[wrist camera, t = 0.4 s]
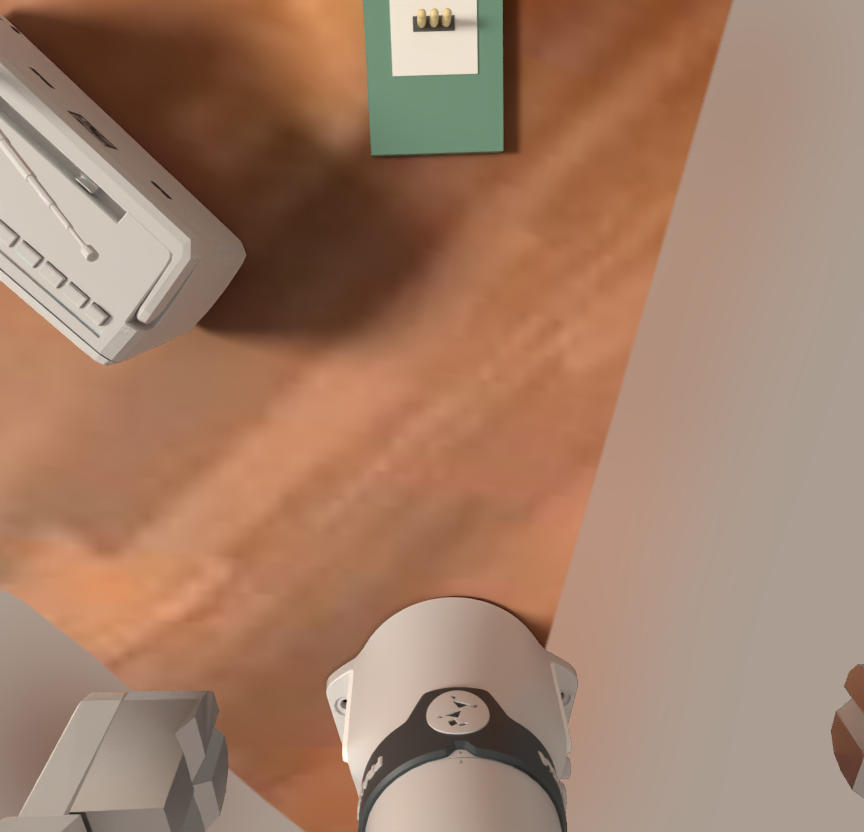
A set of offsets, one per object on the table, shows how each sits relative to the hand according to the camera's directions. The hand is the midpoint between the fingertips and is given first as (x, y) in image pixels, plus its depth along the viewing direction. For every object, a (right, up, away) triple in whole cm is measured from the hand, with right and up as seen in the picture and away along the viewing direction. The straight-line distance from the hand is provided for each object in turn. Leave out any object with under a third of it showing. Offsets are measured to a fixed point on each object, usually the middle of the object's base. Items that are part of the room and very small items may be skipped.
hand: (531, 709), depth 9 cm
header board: (-1, +25, +33) cm, 41 cm away
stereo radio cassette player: (-22, +19, +34) cm, 45 cm away
